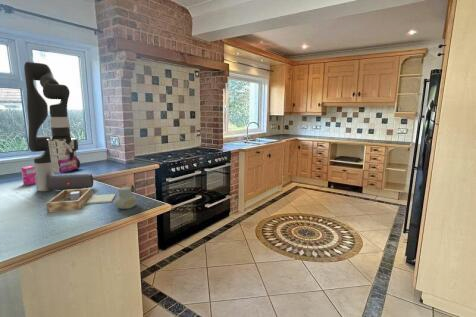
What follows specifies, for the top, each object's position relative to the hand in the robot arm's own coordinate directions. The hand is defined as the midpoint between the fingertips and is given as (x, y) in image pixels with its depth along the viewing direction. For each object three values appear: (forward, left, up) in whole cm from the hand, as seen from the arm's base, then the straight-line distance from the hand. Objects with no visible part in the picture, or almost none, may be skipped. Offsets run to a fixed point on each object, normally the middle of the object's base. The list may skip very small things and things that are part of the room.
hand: (64, 159), depth 132 cm
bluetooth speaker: (-7, +28, -24) cm, 38 cm away
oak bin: (0, +3, -24) cm, 24 cm away
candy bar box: (0, 0, -6) cm, 6 cm away
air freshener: (+29, -10, -24) cm, 39 cm away
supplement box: (-39, +50, -24) cm, 68 cm away
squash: (-28, +88, -24) cm, 95 cm away
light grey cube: (0, +9, -24) cm, 26 cm away
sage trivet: (+14, +6, -24) cm, 29 cm away
